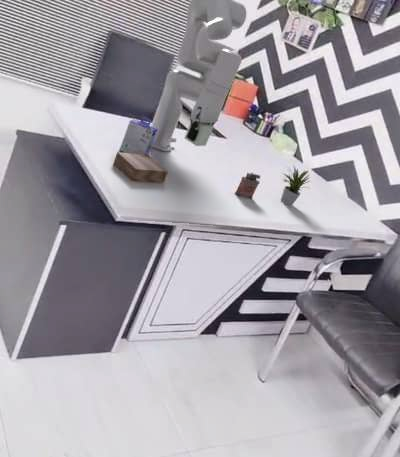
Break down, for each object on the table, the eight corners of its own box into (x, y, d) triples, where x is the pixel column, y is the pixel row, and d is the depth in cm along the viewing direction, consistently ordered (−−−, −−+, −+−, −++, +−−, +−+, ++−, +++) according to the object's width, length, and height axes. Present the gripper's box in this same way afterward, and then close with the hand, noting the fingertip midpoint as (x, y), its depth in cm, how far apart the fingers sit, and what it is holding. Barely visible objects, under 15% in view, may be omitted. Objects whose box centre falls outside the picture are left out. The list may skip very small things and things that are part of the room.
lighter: (236, 196, 201) (247, 173, 197) (233, 192, 204) (243, 169, 200) (253, 199, 206) (264, 177, 202) (249, 195, 208) (259, 173, 204)
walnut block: (144, 167, 190) (149, 155, 188) (163, 184, 183) (168, 171, 181) (112, 165, 180) (117, 152, 178) (131, 182, 173) (136, 169, 171)
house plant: (276, 191, 228) (293, 157, 222) (304, 206, 224) (322, 173, 218) (266, 196, 216) (283, 161, 209) (295, 213, 212) (314, 178, 205)
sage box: (193, 138, 180) (201, 119, 177) (205, 145, 177) (213, 126, 175) (184, 138, 175) (192, 118, 172) (196, 145, 173) (204, 126, 170)
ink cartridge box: (147, 158, 199) (160, 123, 193) (142, 161, 194) (156, 125, 188) (124, 147, 200) (136, 112, 194) (118, 150, 195) (131, 114, 189)
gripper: (222, 86, 177) (201, 134, 185) (193, 81, 163) (172, 134, 171) (239, 95, 174) (217, 144, 181) (211, 92, 160) (189, 145, 167)
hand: (196, 138), depth 176 cm, fingers closed on sage box, 5 cm apart
